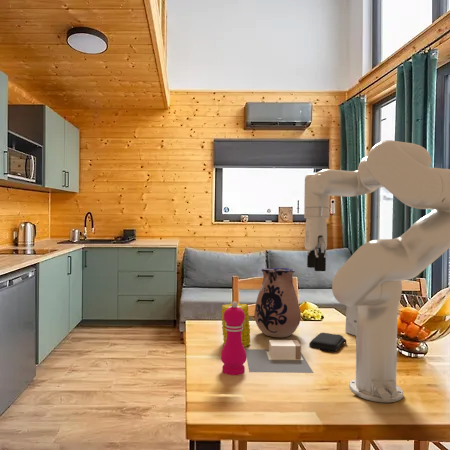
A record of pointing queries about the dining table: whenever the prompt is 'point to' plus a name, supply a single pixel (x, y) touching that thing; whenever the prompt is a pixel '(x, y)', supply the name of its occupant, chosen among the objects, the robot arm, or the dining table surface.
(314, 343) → the carrying case or bag
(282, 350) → the box
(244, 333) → the food
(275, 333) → the ceramic pitcher
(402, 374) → the dining table surface
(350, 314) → the skincare box
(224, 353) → the pepper mill
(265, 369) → the mat
